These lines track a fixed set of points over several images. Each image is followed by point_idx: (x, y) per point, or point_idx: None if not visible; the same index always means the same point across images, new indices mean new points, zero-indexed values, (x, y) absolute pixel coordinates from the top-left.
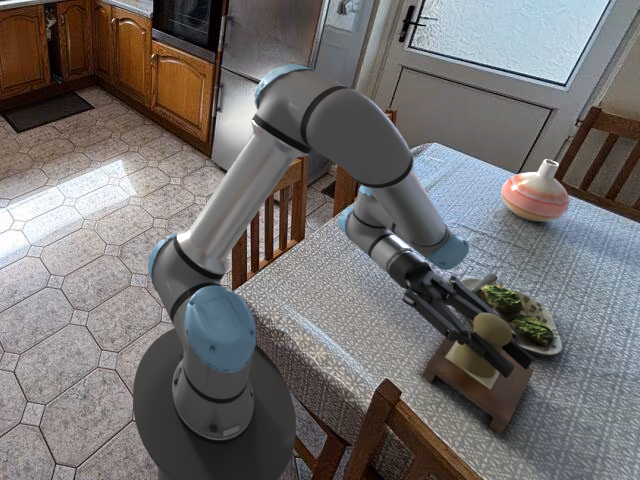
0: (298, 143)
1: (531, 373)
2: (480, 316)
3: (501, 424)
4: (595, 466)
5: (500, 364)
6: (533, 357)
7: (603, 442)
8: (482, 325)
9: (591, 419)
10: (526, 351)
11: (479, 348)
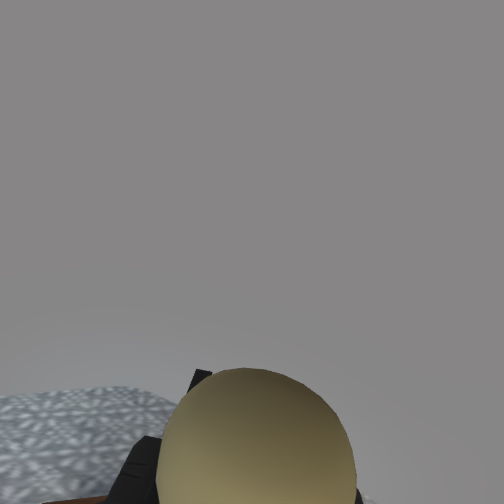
0: None
1: (66, 502)
2: (312, 491)
3: None
4: (173, 409)
5: None
6: (197, 371)
7: (105, 411)
8: (350, 458)
9: (55, 431)
10: (191, 385)
11: (359, 502)
